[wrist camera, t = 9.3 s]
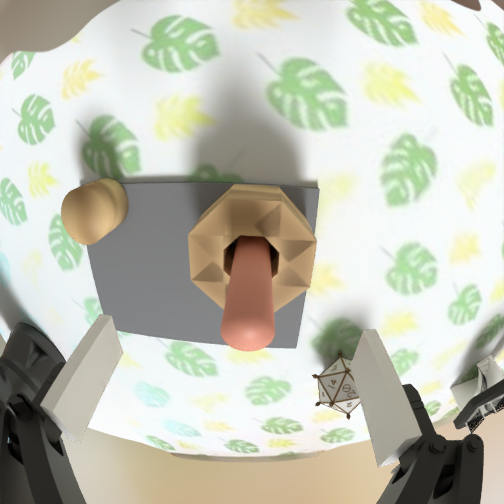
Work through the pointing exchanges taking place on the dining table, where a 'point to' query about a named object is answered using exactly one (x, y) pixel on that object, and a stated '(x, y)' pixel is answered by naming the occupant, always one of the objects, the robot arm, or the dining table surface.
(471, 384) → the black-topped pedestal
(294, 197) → the mat
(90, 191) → the loose tan rounded knob
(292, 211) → the bead
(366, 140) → the dining table surface
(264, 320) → the pink rounded cylinder
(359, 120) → the dining table surface
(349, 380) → the game die
